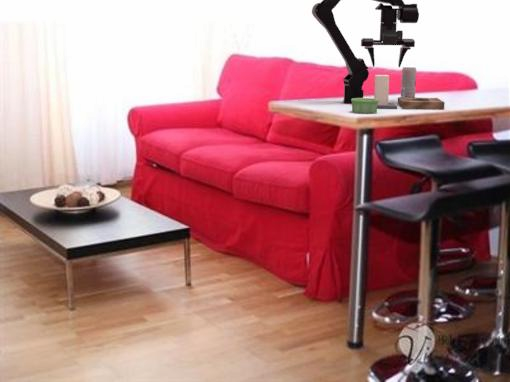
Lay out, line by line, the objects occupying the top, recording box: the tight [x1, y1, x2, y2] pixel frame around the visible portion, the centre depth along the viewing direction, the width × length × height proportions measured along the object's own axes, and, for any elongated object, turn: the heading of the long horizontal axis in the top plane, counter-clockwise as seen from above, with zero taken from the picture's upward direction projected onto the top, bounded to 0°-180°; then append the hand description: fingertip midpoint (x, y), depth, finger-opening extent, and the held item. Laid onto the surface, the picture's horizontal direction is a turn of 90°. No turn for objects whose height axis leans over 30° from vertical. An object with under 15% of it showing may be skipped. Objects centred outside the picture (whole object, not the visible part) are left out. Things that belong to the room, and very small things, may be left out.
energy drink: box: [400, 66, 417, 98], centre depth 291 cm, size 5×5×12 cm
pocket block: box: [397, 96, 446, 111], centre depth 268 cm, size 14×14×2 cm
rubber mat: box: [377, 102, 398, 110], centre depth 267 cm, size 10×10×1 cm
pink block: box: [373, 74, 390, 105], centre depth 266 cm, size 4×4×10 cm
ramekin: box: [351, 97, 379, 115], centre depth 253 cm, size 9×9×4 cm
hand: (386, 66), depth 278 cm, fingers open, 9 cm apart
